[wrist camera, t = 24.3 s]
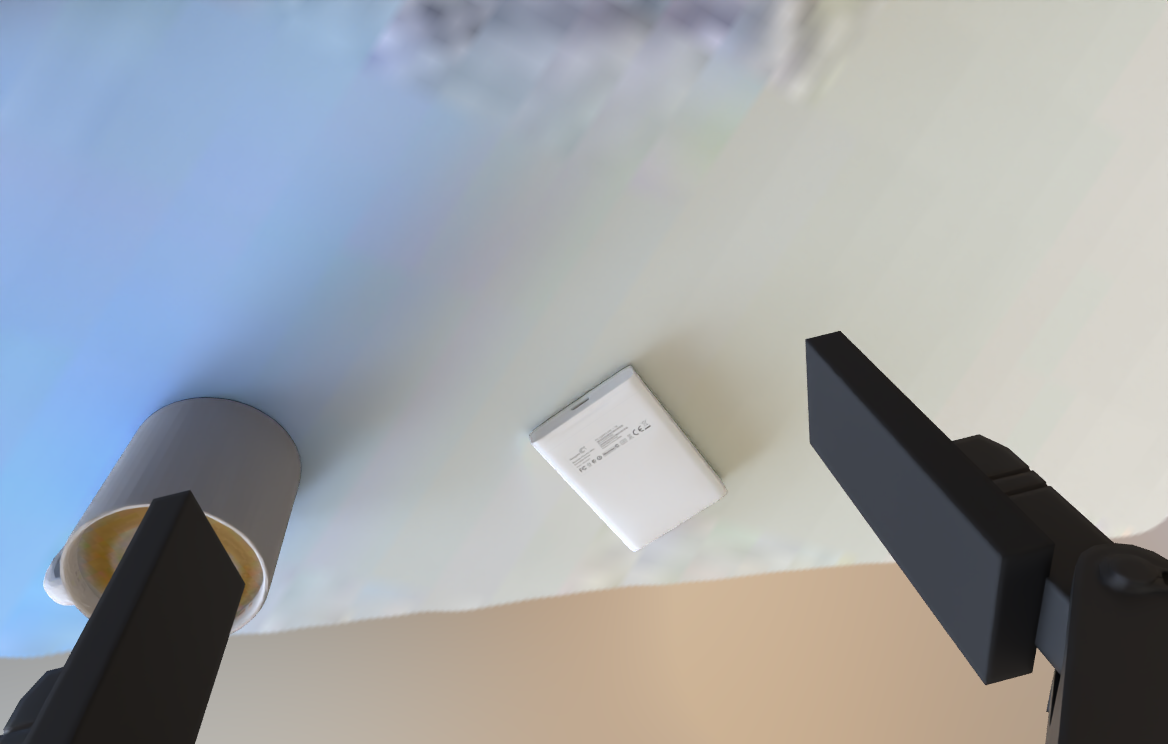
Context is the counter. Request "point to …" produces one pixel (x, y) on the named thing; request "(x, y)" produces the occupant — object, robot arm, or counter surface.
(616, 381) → the hard drive
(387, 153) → the counter surface
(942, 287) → the counter surface
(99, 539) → the coffee mug
